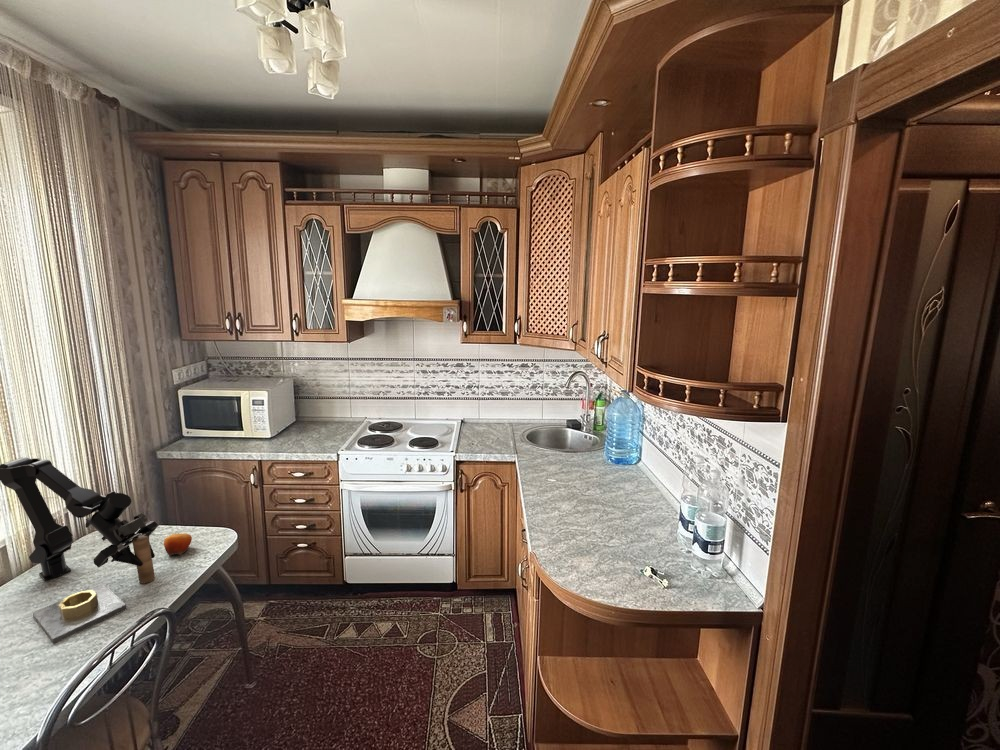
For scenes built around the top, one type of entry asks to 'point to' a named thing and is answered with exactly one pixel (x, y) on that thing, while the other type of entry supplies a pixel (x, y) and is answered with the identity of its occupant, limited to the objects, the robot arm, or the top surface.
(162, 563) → the top surface
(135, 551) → the rail post
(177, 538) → the fruit
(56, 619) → the cup bracket
